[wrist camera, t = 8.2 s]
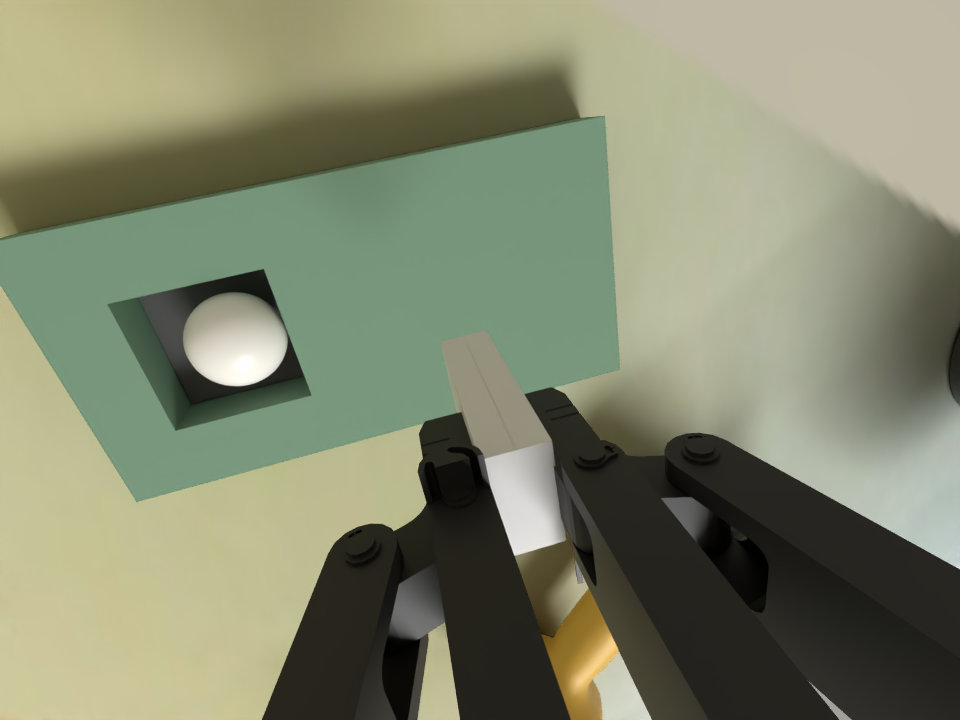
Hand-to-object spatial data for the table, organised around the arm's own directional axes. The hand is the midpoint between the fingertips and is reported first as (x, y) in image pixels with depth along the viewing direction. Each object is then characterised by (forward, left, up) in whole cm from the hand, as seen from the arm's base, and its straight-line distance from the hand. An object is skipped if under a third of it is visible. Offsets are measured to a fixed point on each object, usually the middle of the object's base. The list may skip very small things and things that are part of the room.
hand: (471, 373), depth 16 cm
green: (+4, 0, -9) cm, 10 cm away
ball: (+9, -1, -7) cm, 11 cm away
